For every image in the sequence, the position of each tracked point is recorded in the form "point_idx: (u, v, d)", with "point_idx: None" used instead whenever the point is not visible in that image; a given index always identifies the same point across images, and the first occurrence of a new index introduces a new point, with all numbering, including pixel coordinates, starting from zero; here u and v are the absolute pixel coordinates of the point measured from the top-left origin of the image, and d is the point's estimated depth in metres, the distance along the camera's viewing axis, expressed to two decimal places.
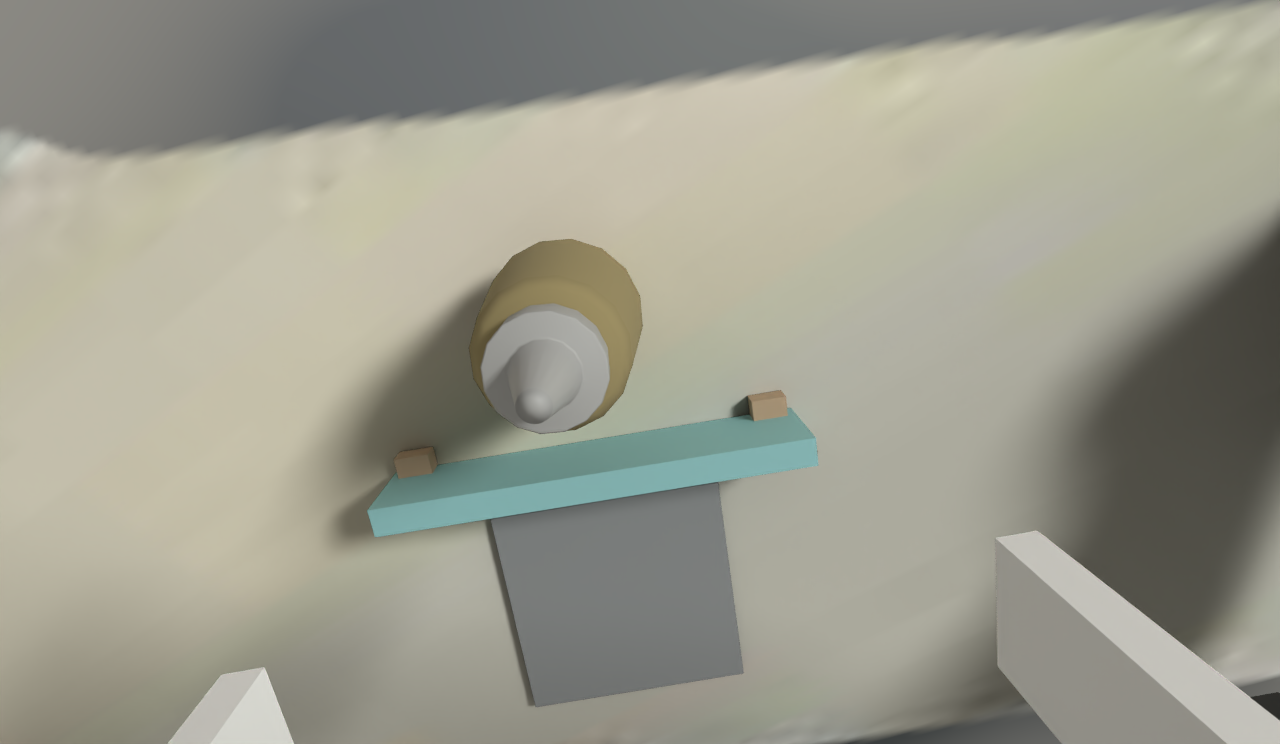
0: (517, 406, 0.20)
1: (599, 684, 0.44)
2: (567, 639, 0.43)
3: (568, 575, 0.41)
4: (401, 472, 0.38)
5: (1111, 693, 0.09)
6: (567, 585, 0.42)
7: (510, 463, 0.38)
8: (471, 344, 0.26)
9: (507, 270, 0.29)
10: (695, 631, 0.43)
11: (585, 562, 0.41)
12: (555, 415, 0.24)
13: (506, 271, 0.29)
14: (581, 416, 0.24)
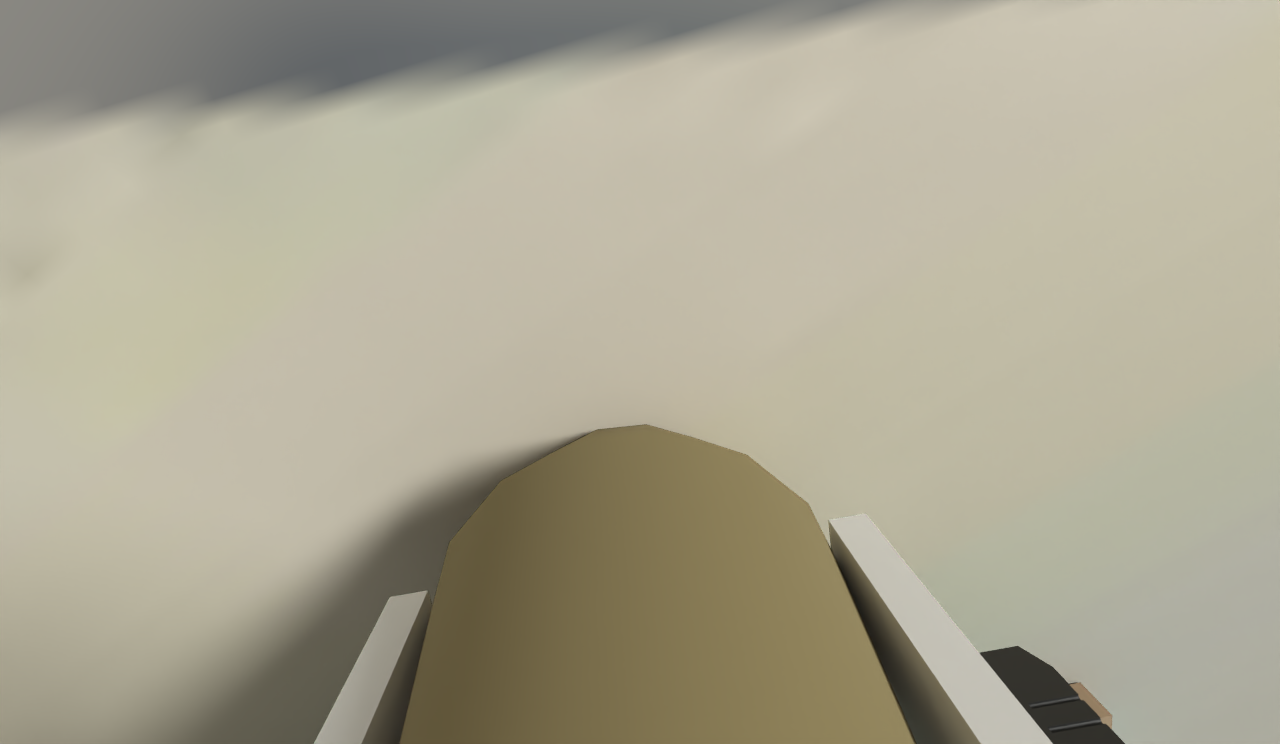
0: None
1: None
2: None
3: None
4: None
5: (890, 649, 0.11)
6: None
7: None
8: None
9: (482, 625, 0.08)
10: None
11: None
12: None
13: (478, 633, 0.08)
14: None
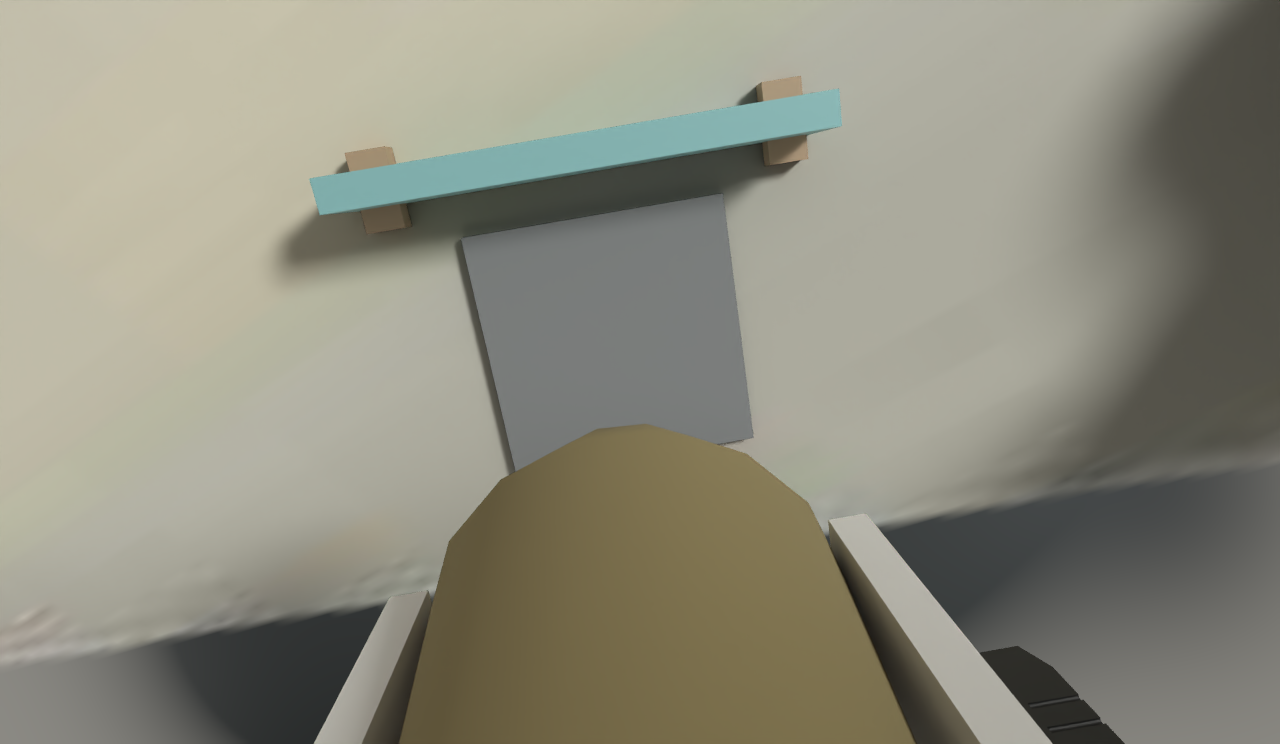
0: None
1: None
2: (552, 393, 0.37)
3: (552, 311, 0.36)
4: (354, 169, 0.33)
5: (889, 649, 0.11)
6: (551, 324, 0.36)
7: None
8: None
9: (482, 624, 0.08)
10: (698, 384, 0.38)
11: (571, 294, 0.36)
12: None
13: (478, 632, 0.08)
14: None
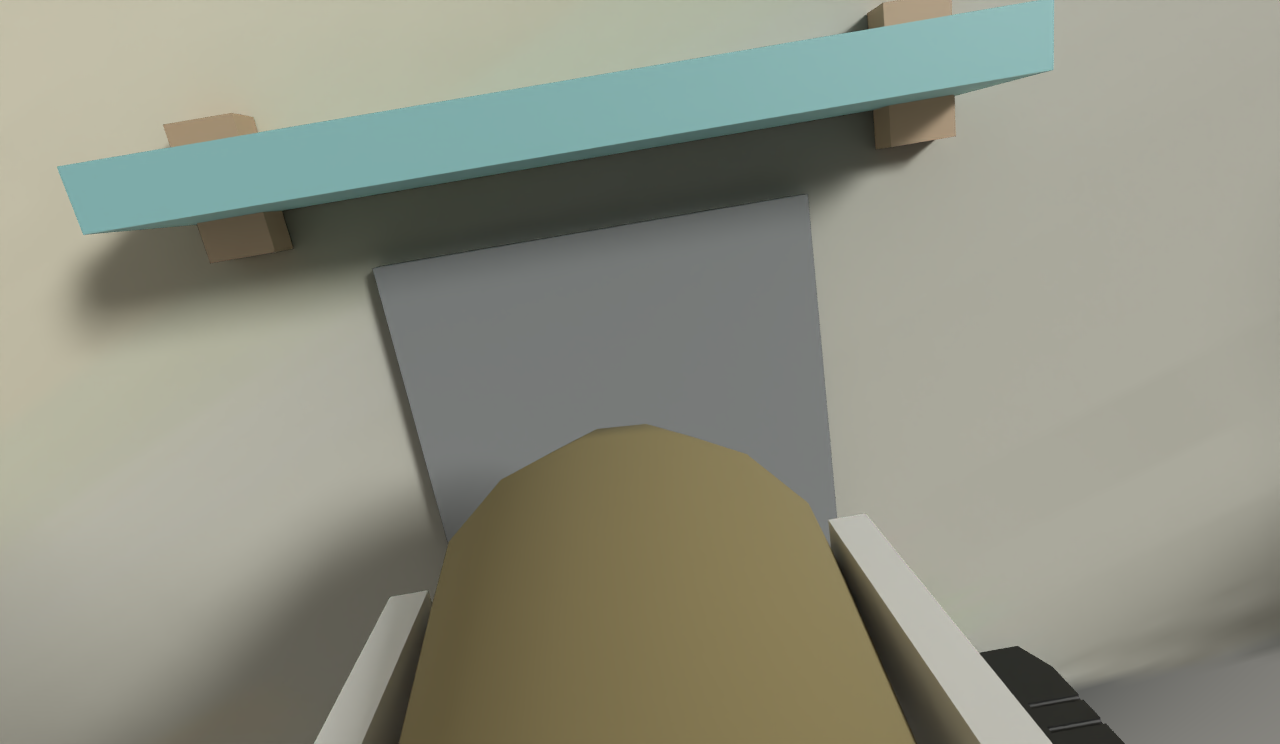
0: None
1: None
2: None
3: (525, 385, 0.22)
4: None
5: (890, 649, 0.11)
6: (524, 406, 0.22)
7: None
8: None
9: (481, 624, 0.08)
10: None
11: (557, 358, 0.22)
12: None
13: (478, 632, 0.08)
14: None
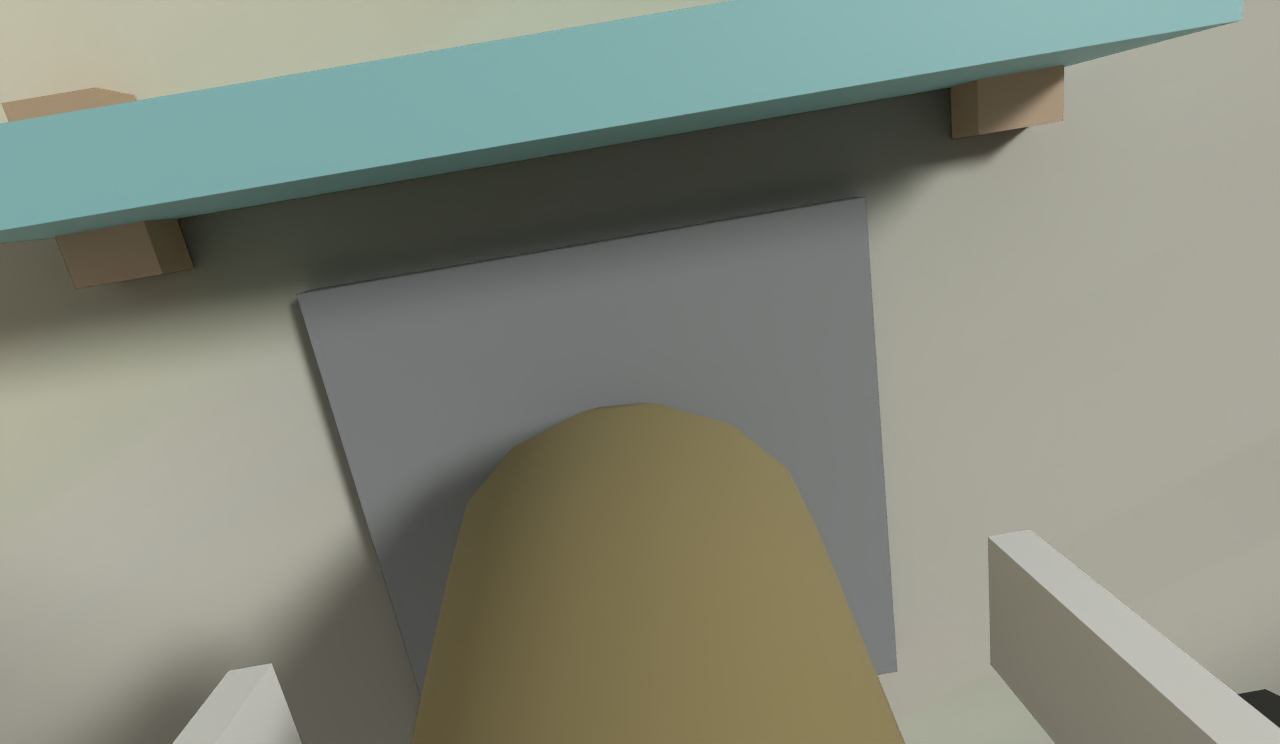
0: None
1: None
2: None
3: (499, 443, 0.17)
4: None
5: (1102, 690, 0.09)
6: None
7: None
8: None
9: (500, 558, 0.10)
10: None
11: (539, 408, 0.17)
12: None
13: (497, 564, 0.10)
14: None
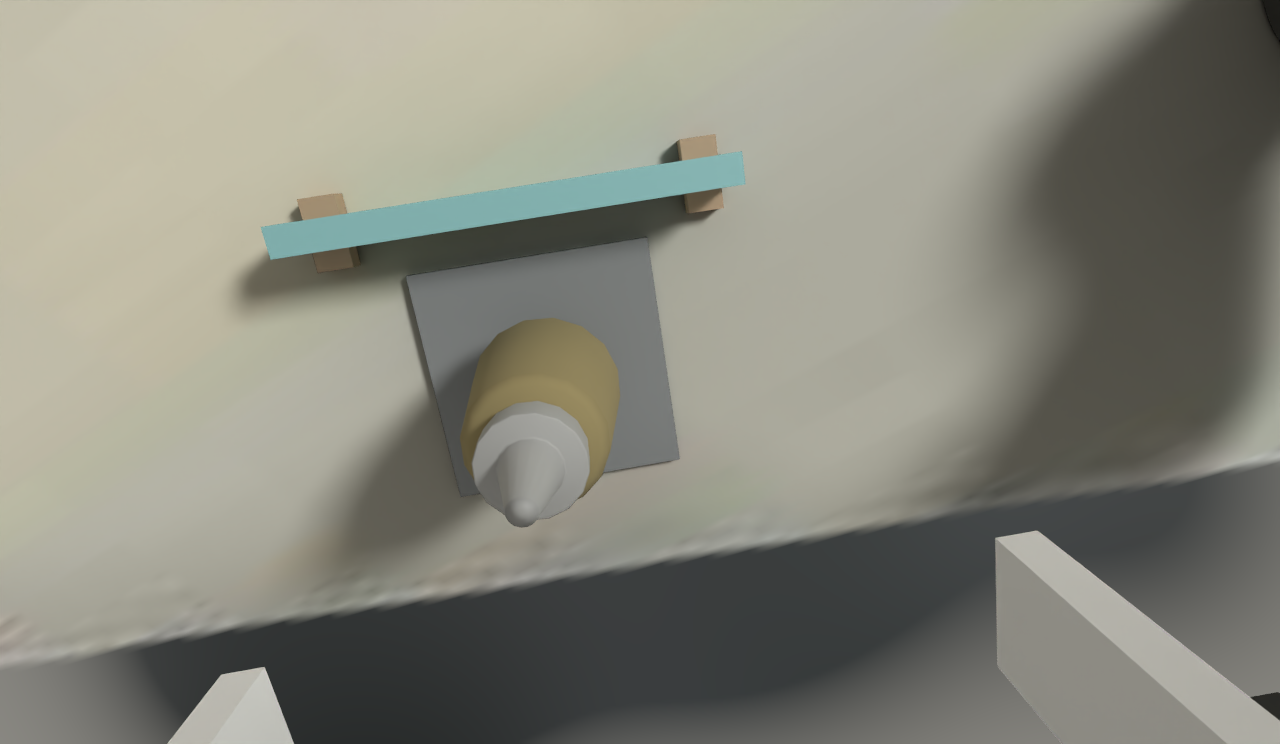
0: (507, 512, 0.23)
1: None
2: None
3: None
4: (306, 214, 0.36)
5: (1112, 693, 0.09)
6: None
7: None
8: (462, 434, 0.28)
9: (494, 355, 0.32)
10: (627, 410, 0.41)
11: (509, 327, 0.39)
12: None
13: (493, 356, 0.32)
14: (564, 505, 0.27)
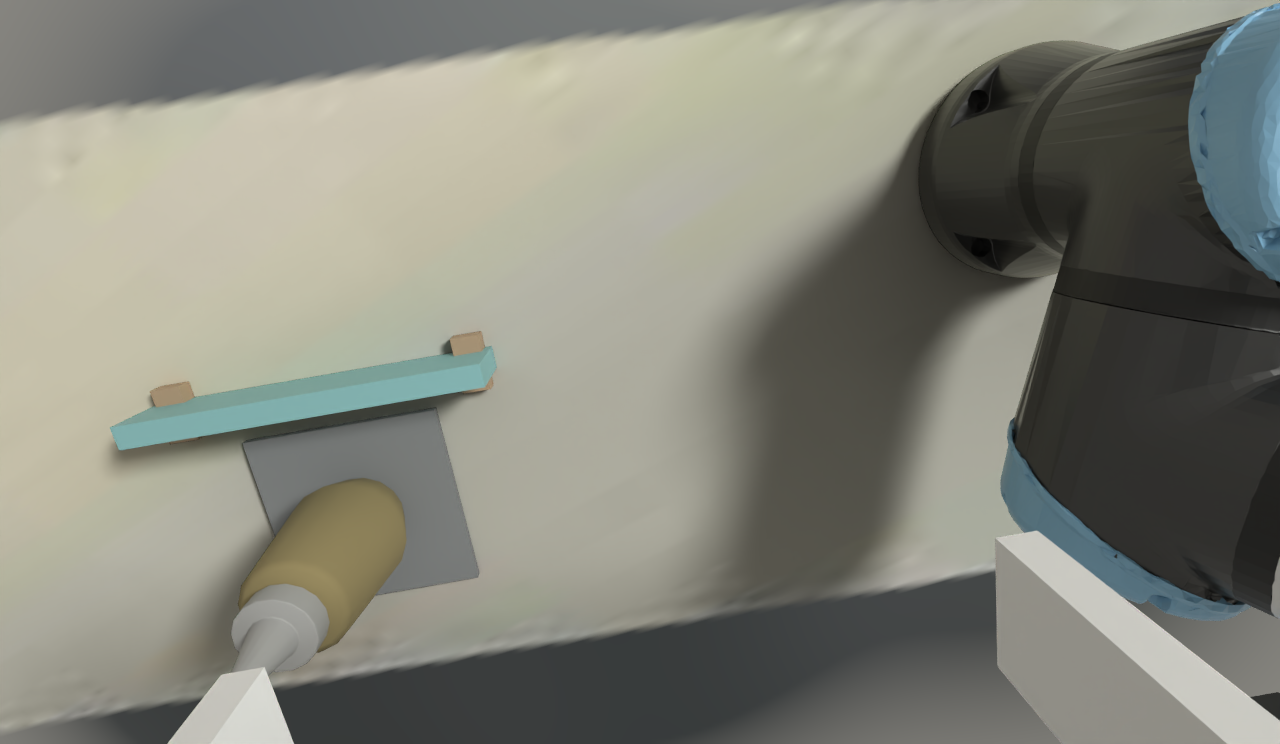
0: None
1: None
2: None
3: None
4: (157, 402, 0.46)
5: (1112, 693, 0.09)
6: None
7: (247, 392, 0.46)
8: (239, 602, 0.38)
9: (283, 527, 0.42)
10: (431, 540, 0.51)
11: (328, 479, 0.49)
12: (283, 662, 0.36)
13: (282, 528, 0.42)
14: (302, 661, 0.36)
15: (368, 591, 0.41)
